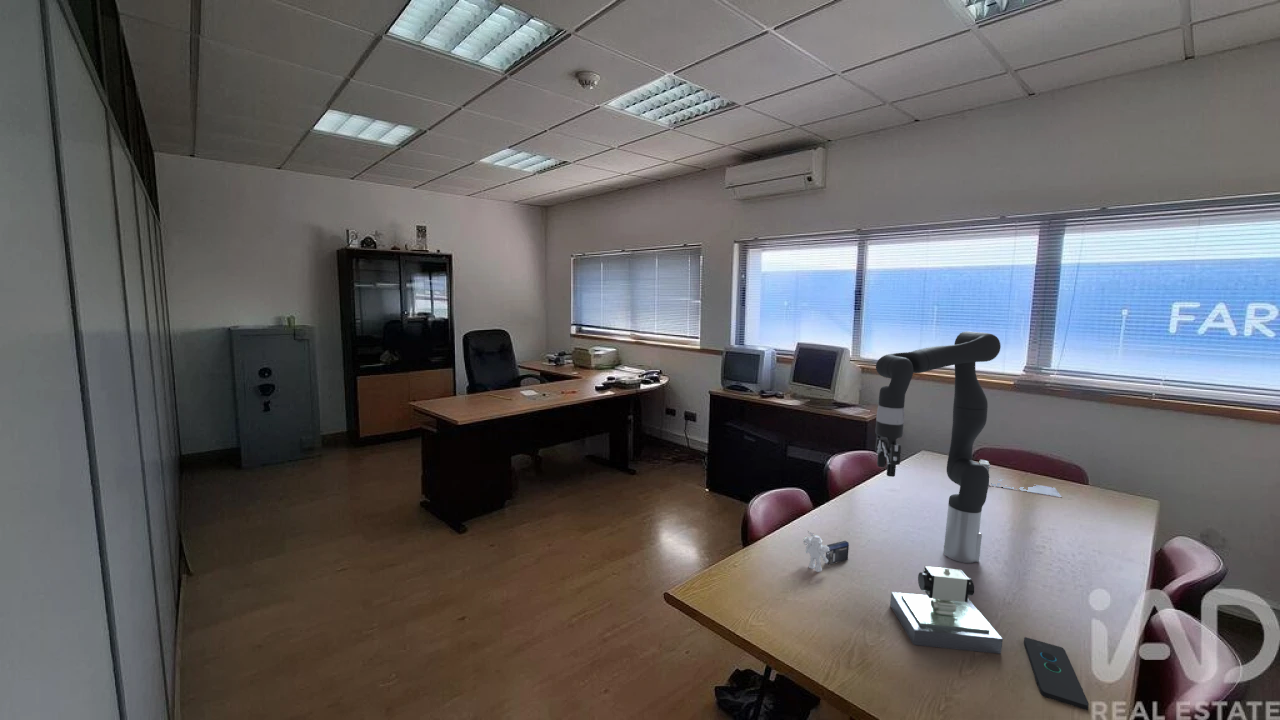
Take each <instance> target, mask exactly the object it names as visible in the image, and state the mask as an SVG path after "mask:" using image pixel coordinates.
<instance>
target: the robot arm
mask: <svg viewBox="0 0 1280 720" xmlns="http://www.w3.org/2000/svg"><path fill="white" fill-rule="evenodd" d="M1000 341H1001V340H1000V339H999V338H998V337H997V336H996V335H995V334H992V333H989V332H980V331H979V332H978V331H969V330H967V331H962V332H960V333H959V334H958V335H957V336H956V338H955V341H954V344H948V345H936V346H930V347H929V346H928V347H925V348H920V349H916V350H913V351H912V350H911V351H907V352H906V351H905V352H904V351H903V352H896V353H889V354H884V355H882V356H881V357H879V359H878V360H877V361H876V363H875V370H876V372H877V374H878V375H879V376H881V377H883V378H886V379H890V383H889V384H888V385H885V386H882V387H880V390H879V395H878V404H877V405H878V406H877V409H876V419H875V421H876V422H875V434H876V437H875V446H874V450H875V452H876V455H877V461H876V466H878V467H879V468H885V466H886V463H887V466H886V476H887V477H895V476H896V471H897V470H896V469H897V466H899V465H901V453H902V452H901V450H902V446H901V444H898V443H897V439H900V438H902V437H903V434H904V422H905V401H906V400H905V399H906V394H907V392H908V391H907V390H908V389H909V385H910V383H911V381H912V378H913V375H914V374H920V373H921V374H922V373H927V372H929V371H933V370H937V369H941V368H946V367H950V366H951V367H952V366H954V397H953V406H952V425H951V426H952V427H951V439H950V447H949V452H948V456H947V462H946V474H947V477H948V479H949V480H950V481H951V482H953V483H954V484H955V485H958V486H959V490H958V491H959V492H958V493H955V494H951V495H950V496H949V498H948V503H947V517H946V525H945V533H944V545H943V554H944V555H945V556H946V557H947V558H949V559H951V560H954V561H955V562H959V563H965V564H972V563H976V562H977V563H979V561H980V556H981V548H982V547H981V545H982V537H983V534H982V533H981V532H980V529H981V527H980V526H981V519H982V511H983V506H984V505H985V503H986V502H987V501H986V500H987V498H988V497H987V495H988V491H989V487H990V486H989V478H990V471H989V472H988V470H987V469H986V467H984V466H983V465H981V464H979V462H977V461H974V460H973V446H974V443H975V440H976V438H977V437H978V436H979V435H980V433H981V432H982V431H983V429H984V428H985V426H986V423H987V418H988V408H989V406H988V398H987V397H986V394H985V392H984V390H983V388H982V386H981V384H980V382H979V380H978V376H977V373H976V372H977V371H976V363H983V362H989V361H992V360H994V359H996V358H997V357H998V355H999V354H1000V352H1001V347H1002V346H1001V345H1002V344H1001V342H1000Z"/></svg>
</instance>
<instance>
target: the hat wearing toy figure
mask: <svg viewBox="0 0 1280 720" xmlns="http://www.w3.org/2000/svg"><path fill="white" fill-rule="evenodd" d="M807 533H808V535H810V536H805V538H803V544H804V546H805V554H809V555H810V561H809V563H808V568H809V569H810V570H814V571H815V572H817V573H820V572H822V571H823V567H822V561H823V562H824V563H825V564H827V563H828V559H827V558H826V554H825V553H826V552H829V551H830V550H829V549H830V548H829V547H827V545H829V544H825V545H824V544H823V539H822V538H821V536H820V535H814V534H815V533H814V532H812V531H810V530H807ZM829 553H830V552H829ZM829 553H827V554H829ZM821 558H822V561H821ZM815 563H816V564H815Z"/></svg>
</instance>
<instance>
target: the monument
mask: <svg viewBox="0 0 1280 720" xmlns="http://www.w3.org/2000/svg"><path fill="white" fill-rule="evenodd" d="M978 463H979V464H981V465H983V466H984V467H986V469H987V470H988V472H989V473H990V469H991V465H990V463H989V461H988V460H985V459H979V460H978ZM999 479H1000V478H999ZM1002 480H1003V479H1000V480H998V481H1002ZM991 485H992V486H996V484H992V483H991ZM999 485H1001V484H1000V483H997V486H996V487H995V488H998V487H1000V486H999ZM1035 485H1036V486H1033V487H1028V490H1026V489H1023V488H1024V487H1020V488H1019V489H1020V490H1021V491H1020V492H1023V491H1027V492H1026V493H1029V492H1031V493H1030V494H1035V493H1037V494H1036V495H1041V494H1043V495H1042V496H1047V495H1050V496H1049V497H1053V496H1056V497H1055V498H1059V497H1062V498H1063V496H1062V495H1061V494H1060V492H1059V491H1058V490H1057V489H1056V488H1055V487H1053V488H1052V486H1046V485H1041V484H1035ZM992 486H991V487H992ZM1005 486H1007V485H1005ZM1002 487H1003V486H1002ZM1004 488H1008V489H1007V490H1010V489H1014V487H1012V488H1011V487H1003V488H1002V489H1004ZM1014 491H1017V489H1015V490H1014Z"/></svg>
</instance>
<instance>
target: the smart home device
mask: <svg viewBox="0 0 1280 720" xmlns="http://www.w3.org/2000/svg"><path fill="white" fill-rule="evenodd" d="M1023 645H1024V648H1025V651H1026V655H1027V657H1028V660H1029V662H1030V666H1031V669H1032V673H1033V675H1034V680H1035V682H1036V683H1035V684H1036V685H1037V688H1038V690H1039V693H1040V694H1041V696H1042V697H1044V698H1047V699H1050V700H1052V701H1053V700H1054V701H1055V702H1060V703H1063V704H1065V705H1069V706H1072V707H1074V708H1078V709H1082V710H1085V711H1088V710H1089V705H1090V704H1089V701H1088V698H1087V696H1086V694H1085V692H1084V690H1083V688H1082V685H1081V683H1080V680H1079V679H1078V675H1076V672H1075V670H1074V667H1073V665H1072V663H1071V661H1070V659H1069V656H1068V654H1067V652H1066V650H1065V649H1064V648H1063V646H1059V645H1056V644H1055V645H1054V644H1051V643H1047V642H1043V641H1040V640H1036V639H1033V638H1030V637H1026V636H1025V637H1024V638H1023Z"/></svg>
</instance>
